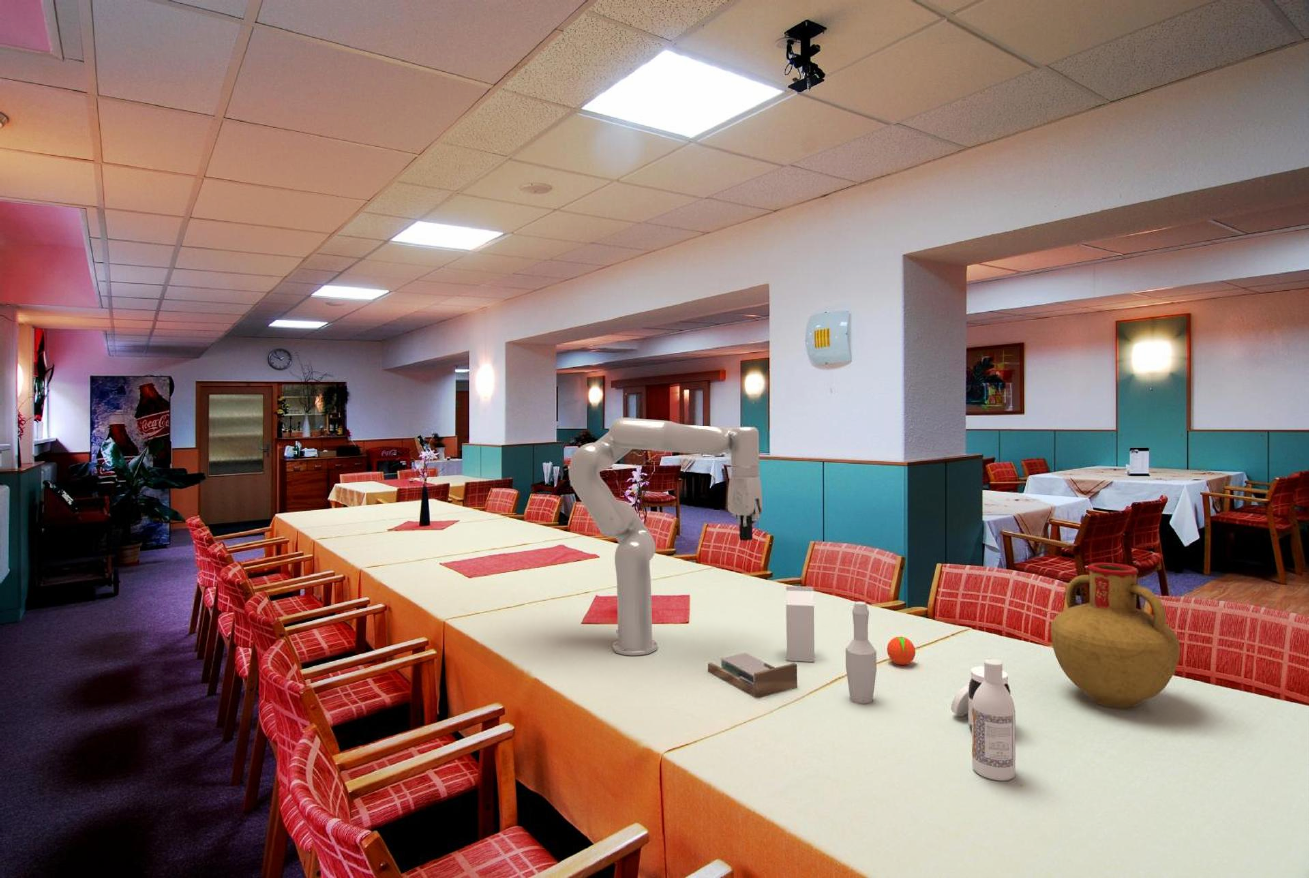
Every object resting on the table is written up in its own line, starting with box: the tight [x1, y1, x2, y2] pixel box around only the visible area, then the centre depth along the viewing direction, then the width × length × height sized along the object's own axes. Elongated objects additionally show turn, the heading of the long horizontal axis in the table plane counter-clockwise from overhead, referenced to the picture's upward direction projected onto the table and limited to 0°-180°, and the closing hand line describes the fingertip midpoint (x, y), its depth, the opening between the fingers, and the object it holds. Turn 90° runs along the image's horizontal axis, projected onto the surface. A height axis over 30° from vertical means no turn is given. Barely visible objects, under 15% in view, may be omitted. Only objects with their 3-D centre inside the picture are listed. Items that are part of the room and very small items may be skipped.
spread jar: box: [950, 665, 1011, 729], centre depth 142 cm, size 12×11×12 cm
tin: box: [720, 652, 764, 677], centre depth 173 cm, size 8×8×4 cm
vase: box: [1050, 562, 1181, 709], centre depth 152 cm, size 24×24×30 cm
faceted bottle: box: [845, 601, 878, 705], centre depth 155 cm, size 6×6×22 cm
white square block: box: [739, 661, 769, 683], centre depth 166 cm, size 8×8×4 cm
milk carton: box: [785, 585, 816, 663], centre depth 183 cm, size 7×7×19 cm
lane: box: [707, 662, 798, 699], centre depth 168 cm, size 20×12×6 cm, turn 30°
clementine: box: [886, 636, 916, 666], centre depth 176 cm, size 8×7×7 cm
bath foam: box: [971, 658, 1016, 782], centre depth 123 cm, size 7×7×20 cm
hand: (746, 539), depth 186 cm, fingers closed
